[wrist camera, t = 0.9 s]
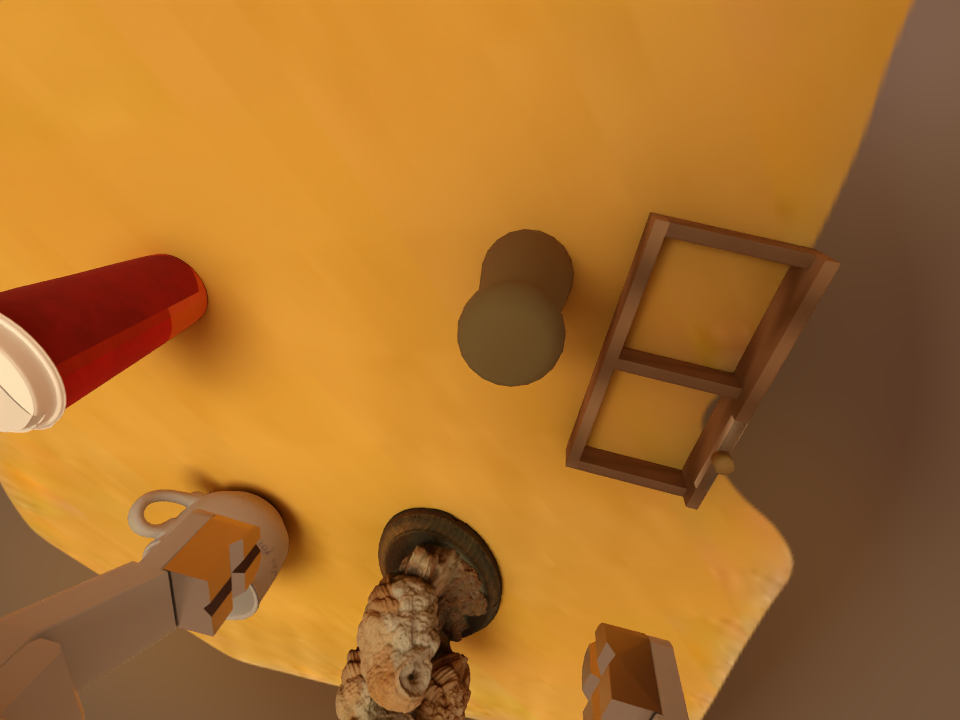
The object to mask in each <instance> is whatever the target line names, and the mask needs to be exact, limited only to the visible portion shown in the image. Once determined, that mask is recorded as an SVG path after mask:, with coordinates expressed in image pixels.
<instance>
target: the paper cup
mask: <svg viewBox="0 0 960 720" xmlns="http://www.w3.org/2000/svg"><path fill="white" fill-rule="evenodd" d="M207 304H208V298H207V293H206V289H205V287H204V284H203V282H202V281H201V279H200V277H199V276H198V275H197V273H196V272H195V271H194V270H193V269H192V268H191V267H190V266H189V265H188V264H186V263H185V262H184V261H182V260H180V259H178V258H176V257H174V256H171V255H167V254H155V255H150V256H145V257H141V258H137V259H132V260H128V261H124V262H120V263H116V264H112V265H108V266H104V267H100V268H96V269H93V270H89V271H85V272H81V273H77V274H73V275H69V276H65V277H61V278H56V279H52V280H48V281H44V282H39V283H35V284H31V285H27V286H23V287H18V288H14V289H11V290H7V291H4V292H0V432H18V433H22V432H28V431H31V430H33V429H35V430H38V429H47V428H51V427H52V426H53V425H54V424H55V423H56V422H57V421H58V420H59V419H60V418H61V417H62V415H63V413H64V412H65V409H66V408H67V407H69V406H70V405H72V404H73V403H75V402H76V401H78V400H79V399H81V398H82V397H84V396H85V395H87V394H89V393H90V392H92V391H93V390H95V389H96V388H98V387H99V386H101V385H102V384H104V383H105V382H107V381H108V380H110V379H111V378H113V377H114V376H116V375H117V374H119V373H120V372H122V371H123V370H125V369H126V368H128V367H129V366H131V365H132V364H134V363H136V362H137V361H139V360H140V359H142V358H143V357H145V356H146V355H148V354H149V353H151V352H152V351H154V350H155V349H157V348H158V347H160V346H161V345H163V344H164V343H166V342H167V341H169V340H170V339H172V338H173V337H175V336H176V335H177V334H179V333H180V332H182V331H183V330H185V329H186V328H188V327H189V326H191V325H192V324H193V323H195V322H196V321H197V320H199V319H200V318H201V317H202V316H203V315H204V313H205V311H206V309H207Z"/></svg>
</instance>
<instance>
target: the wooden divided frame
mask: <svg viewBox="0 0 960 720" xmlns="http://www.w3.org/2000/svg"><path fill="white" fill-rule="evenodd" d="M664 237H669V238H673V239H677V240H682V241H686V242H691V243H695V244H700V245H704V246H708V247H713V248H717V249H722V250H726V251H730V252H735V253H739V254H744V255H748V256H753V257H757V258H761V259H766V260H770V261H775V262H779V263H784V264H788V265H791V266H790V268H789V269H788V271H787V273H786V275H785V277H784V279H783V281H782V283H781V285H780V286H779V288H778V290H777V292H776V294H775V296H774V298H773V300H772V302H771V303H770V305H769V307H768V309H767V311H766V313H765V315H764V317H763V318H762V320H761V322H760V324H759V326H758V328H757V330H756V332H755V334H754V335H753V337H752V339H751V341H750V343H749V345H748V347H747V349H746V350H745V352H744V354H743V356H742V358H741V360H740V362H739V364H738V366H737V367H736V369H735V371H734V373H733V374H732V373H728V372H724V371H720V370H716V369H712V368H708V367H703V366H699V365H695V364H691V363H687V362H683V361H679V360H675V359H670V358H666V357H662V356H658V355H654V354H650V353H646V352H642V351H637V350H633V349H629V348H625V347H623V345H624V342H625V339H626V337H627V334H628V332H629V329H630V326H631V324H632V321H633V319H634V316H635V313H636V311H637V308H638V305H639V303H640V300H641V298H642V295H643V292H644V290H645V287H646V284H647V282H648V279H649V277H650V274H651V271H652V269H653V266H654V263H655V261H656V258H657V256H658V253H659V250H660V248H661V245H662V242H663V240H664ZM840 265H841V263H839V262H837V261H835V260H833V259H831V258H830V257H828V256H826V255H824V254H823V253H821V252H819V251H817V250H815V249H812V248H807V247H803V246H798V245H794V244H789V243H785V242H780V241H776V240H771V239H767V238H762V237H758V236H754V235H749V234H745V233H740V232H736V231H731V230H727V229H722V228H718V227H713V226H709V225H704V224H700V223H695V222H691V221H686V220H682V219H677V218H673V217H668V216H664V215H660V214H655V213H651V212H650V215H649V218H648V221H647V223H646V226H645V229H644V232H643V235H642V237H641V240H640V243H639V246H638V249H637V251H636V254H635V257H634V260H633V263H632V265H631V268H630V271H629V274H628V277H627V279H626V282H625V285H624V288H623V291H622V293H621V296H620V299H619V302H618V305H617V307H616V310H615V313H614V316H613V319H612V321H611V324H610V327H609V330H608V333H607V336H606V338H605V341H604V344H603V347H602V350H601V352H600V355H599V358H598V361H597V364H596V366H595V369H594V372H593V375H592V378H591V380H590V383H589V386H588V389H587V392H586V394H585V397H584V400H583V403H582V406H581V408H580V411H579V414H578V417H577V420H576V422H575V425H574V428H573V431H572V434H571V436H570V439H569V442H568V445H567V448H566V466H567V467H570V468H574V469H578V470H582V471H586V472H590V473H594V474H597V475H601V476H605V477H609V478H613V479H617V480H621V481H624V482H628V483H632V484H636V485H640V486H644V487H647V488H651V489H655V490H659V491H663V492H667V493H671V494H674V495H678V496H682V497H683V498H684V502H685V505H686V507H689V508H693V509H696V510H697V509H698V507H699V506H700V504H701V502H702V501H703V499H704V497H705V495H706V494H707V492H708V491H709V489H710V488H711V486H712V484H713V482H714V481H715V479H716V477H717V476H718V474H721V475H728V474H730V473H732V472H733V471H734V470H735V464H734V462H733V460H732V458H731V456H730V453H731V452H732V450H733V448H734V446H735V445H736V443H737V441H738V439H739V438H740V436H741V435H742V433H743V431H744V429H745V428H746V426H747V424H748V422H749V420H750V419H751V417H752V415H753V413H754V412H755V410H756V408H757V407H758V405H759V403H760V402H761V400H762V398H763V396H764V395H765V393H766V391H767V389H768V388H769V386H770V384H771V383H772V381H773V379H774V378H775V376H776V374H777V372H778V371H779V369H780V367H781V366H782V364H783V362H784V361H785V359H786V357H787V355H788V354H789V352H790V350H791V348H792V347H793V345H794V343H795V342H796V340H797V338H798V337H799V335H800V333H801V331H802V330H803V328H804V326H805V325H806V323H807V321H808V319H809V318H810V316H811V314H812V312H813V311H814V309H815V308H816V306H817V304H818V302H819V301H820V299H821V297H822V296H823V294H824V292H825V290H826V288H827V287H828V285H829V284H830V282H831V280H832V278H833V277H834V275H835V273H836V272H837V270H838V268H839V267H840ZM614 369H616V370H620V371H624V372H628V373H632V374H636V375H640V376H644V377H648V378H652V379H656V380H660V381H664V382H669V383H673V384H677V385H681V386H685V387H689V388H693V389H697V390H701V391H705V392H709V393H713V394H717V395H722V396H721V398H720V400H719V401H718V403H717V405H716V407H715V409H714V411H713V413H712V414H711V416H710V418H709V420H708V422H707V424H706V426H705V428H704V430H703V431H702V433H701V435H700V437H699V439H698V441H697V443H696V445H695V446H694V448H693V450H692V452H691V454H690V456H689V458H688V460H687V462H686V463H685V465H684V467H683V469H682V470H678V469H674V468H670V467H666V466H662V465H658V464H654V463H650V462H647V461H643V460H639V459H635V458H631V457H627V456H623V455H619V454H615V453H611V452H608V451H604V450H600V449H596V448H592V447H588V446H585V444H586V442H587V439H588V437H589V434H590V431H591V429H592V426H593V423H594V421H595V418H596V416H597V413H598V410H599V408H600V405H601V402H602V400H603V397H604V395H605V392H606V389H607V387H608V384H609V381H610V379H611V376H612V374H613V371H614Z"/></svg>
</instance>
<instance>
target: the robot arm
mask: <svg viewBox="0 0 960 720" xmlns="http://www.w3.org/2000/svg"><path fill="white" fill-rule="evenodd" d="M260 538H261V534H260V527H257V526H254V525H251V524H248V523H245V522H241V521H238V520H235V519H232V518H228V517H225V516H222V515H219V514H216V513H212V512H209V511H205V510H202V509H196V510H194V511H192V512H190V513H189V514H188V515H187V516H186V517H185V518H184V519H183V520H182V521H181V522H180V523H179V524H178V525H177V526H176V527H175V528H174V529H173V530H172V531H171V532H170V533H169V534H167V535H166V536H165V537H164V538H163V539H162V540H161V541H160V542H159V543H158V544H157V545H156V546H155V547H154V548H153V549H152V550H151V551H150V552H149V553H148V554H147V555H146V556H145V557H144V558H143V559H142V560H141V561H140V562H139V563H138V562H134V561H132V562H129V563H127V564H125V565H122V566H120V567H118V568H115V569H113V570H111V571H108V572H106V573H104V574H101V575H99V576H97V577H94V578H92V579H90V580H87V581H85V582H83V583H80V584H78V585H76V586H73V587H71V588H69V589H66V590H64V591H61V592H59V593H57V594H54V595H52V596H50V597H48V598H45V599H43V600H40V601H38V602H36V603H33V604H31V605H29V606H26V607H24V608H22V609H19V610H17V611H15V612H12V613H10V614H8V615H5V616H3V617H1V618H0V720H84V711H83V708H82V705H81V702H80V699H79V697H78V694H77V693H78V692H80V691H82V690H83V689H85V688H86V687H88V686H90V685H91V684H93V683H94V682H96V681H97V680H99V679H100V678H102V677H104V676H105V675H107V674H108V673H110V672H111V671H113V670H114V669H116V668H118V667H119V666H121V665H122V664H123V663H125V662H126V661H128V660H130V659H131V658H133V657H135V656H136V655H138V654H139V653H141V652H142V651H144V650H145V649H147V648H148V647H150V646H151V645H153V644H155V643H156V642H158V641H159V640H161V639H162V638H164V637H165V636H167V635H169V634H170V633H172V632H173V631H175V630H176V627H179V628H183V629H187V630H190V631H194V632H198V633H202V634H206V635H209V636H214V635H215V634H216V632H217V631H218V629H219V628H220V627H221V625H222V624H223V622H224V621H225V620H226V618H227V617H228V616H229V614H230V613H231V611H232V610H233V598H235V597H237V596H239V595H240V594H242V593H244V592H246V590H247V589H248V587H249V586H250V584H251V583H252V581H253V580H254V577H255V575H256V573H257V571H258V569H259V565H260V561H261V550H260V549H259V547H258V546H257V545H256V543H257V542H258V540H259V539H260ZM595 636H596V641H595V642H593V643H591V644H589V646H588V648H587V651H586V653H585V657H584V662H583V668H582V690H583V692H584V694H585V696H586V698H587V699H588V703H587V705H586V707H585V709H584V711H583V720H689V718H688V713H687V709H686V704H685V700H684V695H683V691H682V686H681V682H680V677H679V673H678V668H677V664H676V659H675V655H674V651H673V647H672V645H671V643H670V642H669V641H667V640H663V639H660V638H656V637H652V636H649V635H645V634H644V633H640V632H636V631H632V630H629V629H625V628H621V627H617V626H614V625H610V624H606V623H601V624H599V626H598V628H597V630H596V632H595Z"/></svg>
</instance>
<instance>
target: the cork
mask: <svg viewBox="0 0 960 720" xmlns="http://www.w3.org/2000/svg"><path fill="white" fill-rule="evenodd" d="M573 275H574V273H573V268H572V262H571V259H570V257H569V255H568V253H567V251H566V249H565V248H564V246H562V245H561V244H560V243H559V242H558V241H557V240H556V239H555V238H554V237H552V236H550V235H548V234H545V233H543V232H541V231H537V230H527V229H523V230H519V231H514V232H510V233H508V234H506V235H505V236H503V237H501V238H500V239H498V240H497V241H496V242H495V243H494V244H493V245H492V247H491V248H490V249H489V250H488V251H487V254H486V256H485V259H484V261H483V264H482V271H481V278H480V286H479V291H477V292H476V293H475V294H474V295H473V297H472V298H471V299H470V300H469V301H468V302H467V303H466V305H465V307H464V309H463V311H462V314H461V316H460V318H459V321H458V336H457V338H458V344H459V348H460V351H461V355H462V357H463V358H464V360H465V361H466V363H467V364H468V366H469V367H470V368H471V369H472V370H473V371H474V372H475V373H477V374H478V375H479V376H480V377H482V378H483V379H485V380H487V381H490V382H492V383H494V384H497V385H503V386H510V387H513V386H520V385H528V384H530V383H532V382H534V381H537V380H539V379H541V378H542V377H544V376H545V375H546V374H547V373H548V372H549V371H550V370H551V369H553V367H554V366H555V364H556V362H557V361H558V359H559V357H560V355H561V353H562V352H563V347H564V341H565V326H564V320H563V315H562V313H561V311H562V309H563V306H564V304H565V302H566V299H567V297H568V295H569V292H570V290H571V287H572V281H573Z"/></svg>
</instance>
